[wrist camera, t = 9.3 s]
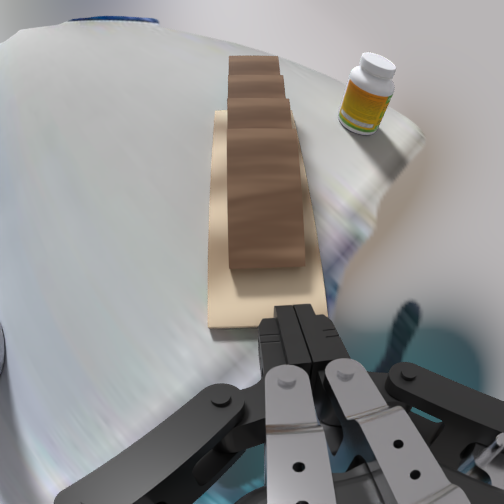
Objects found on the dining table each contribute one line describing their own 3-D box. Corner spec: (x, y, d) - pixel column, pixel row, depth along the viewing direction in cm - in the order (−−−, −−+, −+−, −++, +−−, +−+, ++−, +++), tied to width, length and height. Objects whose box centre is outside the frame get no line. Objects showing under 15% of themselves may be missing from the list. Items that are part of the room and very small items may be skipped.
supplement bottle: (378, 141, 30) (406, 79, 21) (336, 129, 30) (357, 62, 22) (375, 116, 32) (398, 59, 23) (337, 105, 33) (354, 44, 24)
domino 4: (305, 266, 21) (296, 128, 21) (228, 268, 21) (226, 128, 21) (301, 266, 22) (293, 137, 23) (229, 268, 22) (227, 137, 23)
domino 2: (292, 171, 24) (283, 75, 25) (228, 172, 24) (228, 75, 25) (289, 177, 26) (281, 83, 26) (228, 177, 26) (228, 83, 26)
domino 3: (298, 214, 23) (289, 98, 23) (228, 215, 22) (227, 98, 23) (294, 217, 24) (286, 107, 25) (229, 219, 24) (228, 107, 24)
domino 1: (285, 135, 26) (278, 56, 27) (228, 136, 26) (228, 56, 26) (283, 142, 28) (276, 64, 28) (229, 142, 28) (229, 64, 28)
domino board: (325, 322, 21) (328, 320, 21) (209, 328, 21) (207, 326, 20) (290, 115, 31) (291, 110, 30) (215, 115, 31) (215, 110, 30)
